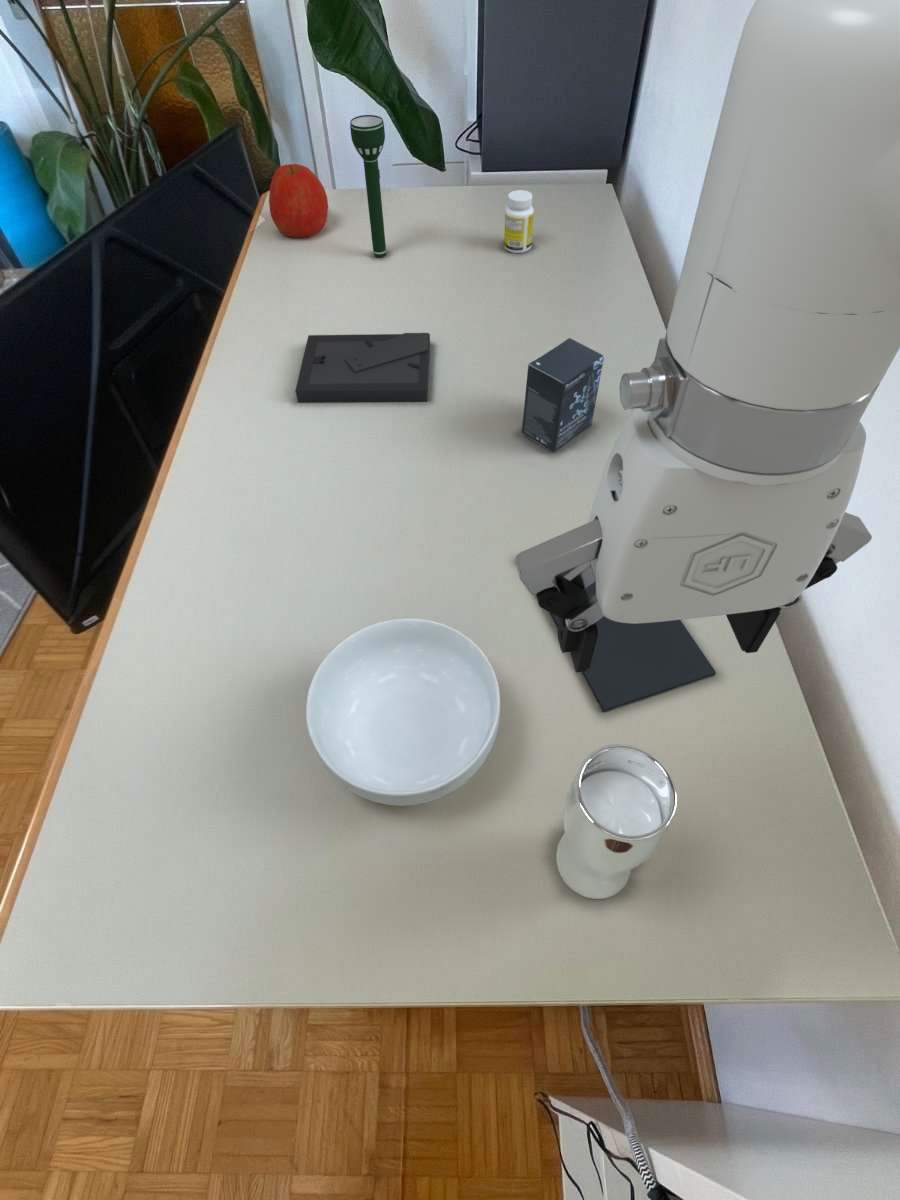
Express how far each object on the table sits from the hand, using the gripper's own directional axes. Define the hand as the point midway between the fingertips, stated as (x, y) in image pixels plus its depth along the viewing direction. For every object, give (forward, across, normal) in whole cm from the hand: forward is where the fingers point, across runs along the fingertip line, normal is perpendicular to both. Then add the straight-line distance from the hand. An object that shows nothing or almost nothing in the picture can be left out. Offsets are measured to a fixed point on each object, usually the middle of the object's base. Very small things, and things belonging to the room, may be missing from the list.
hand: (658, 641), depth 40 cm
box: (+26, +7, +50) cm, 56 cm away
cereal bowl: (+26, -16, +9) cm, 31 cm away
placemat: (+25, +7, +20) cm, 33 cm away
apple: (+26, -26, +111) cm, 117 cm away
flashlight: (+26, -13, +99) cm, 103 cm away
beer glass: (+26, -1, -5) cm, 26 cm away
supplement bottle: (+26, +11, +98) cm, 102 cm away
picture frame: (+26, -17, +66) cm, 72 cm away
